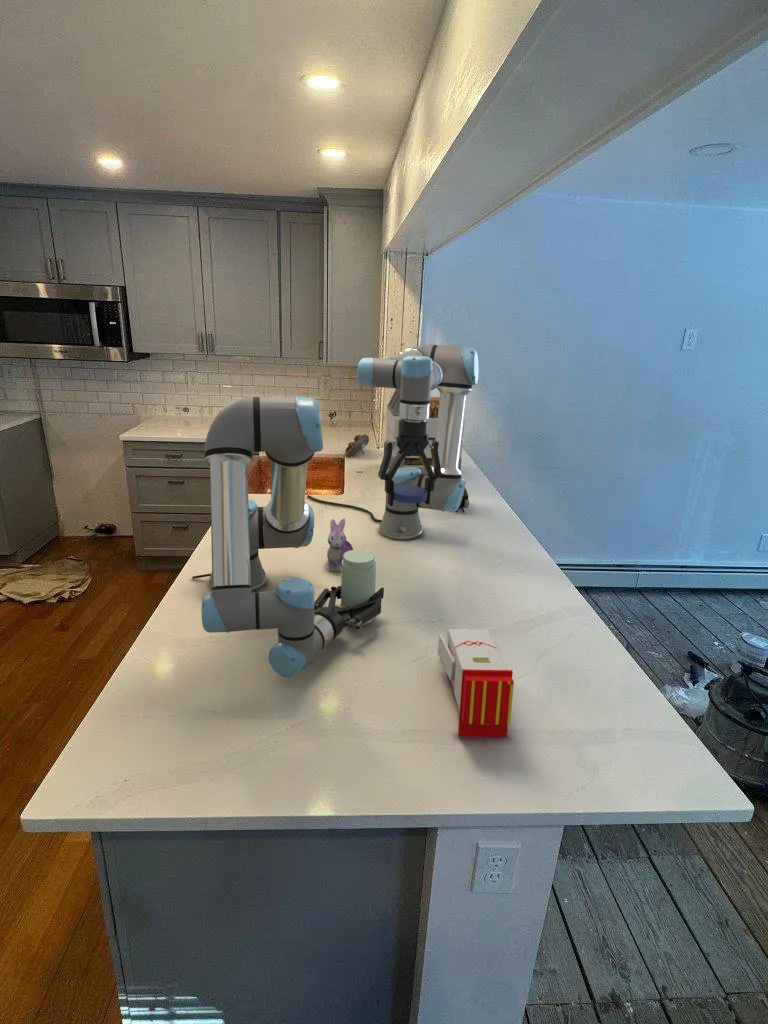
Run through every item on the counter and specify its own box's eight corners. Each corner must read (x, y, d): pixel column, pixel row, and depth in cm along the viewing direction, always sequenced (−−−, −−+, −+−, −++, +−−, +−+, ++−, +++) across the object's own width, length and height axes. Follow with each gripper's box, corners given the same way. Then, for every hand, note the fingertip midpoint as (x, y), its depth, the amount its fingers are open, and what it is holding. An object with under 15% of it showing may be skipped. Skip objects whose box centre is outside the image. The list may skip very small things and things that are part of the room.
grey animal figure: (345, 440, 315) (366, 425, 310) (356, 453, 318) (377, 439, 313) (338, 454, 296) (361, 438, 291) (350, 468, 298) (372, 452, 293)
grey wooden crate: (382, 463, 289) (386, 382, 275) (445, 464, 293) (451, 384, 279) (390, 482, 257) (394, 392, 243) (460, 483, 261) (468, 394, 247)
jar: (349, 629, 140) (351, 565, 134) (335, 613, 147) (335, 552, 141) (380, 621, 144) (382, 559, 138) (364, 606, 151) (366, 546, 145)
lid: (430, 494, 153) (430, 487, 152) (421, 505, 144) (422, 498, 144) (396, 490, 155) (397, 483, 155) (386, 500, 147) (387, 493, 146)
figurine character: (469, 517, 223) (463, 501, 236) (471, 500, 219) (465, 484, 233) (452, 516, 222) (447, 500, 236) (454, 499, 219) (449, 483, 232)
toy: (488, 613, 130) (523, 677, 101) (484, 667, 133) (517, 744, 104) (435, 612, 130) (455, 676, 101) (432, 666, 133) (451, 743, 103)
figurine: (332, 575, 167) (332, 527, 162) (319, 561, 175) (319, 516, 170) (361, 569, 171) (362, 523, 166) (347, 556, 179) (348, 512, 174)
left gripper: (281, 630, 133) (330, 591, 153) (362, 656, 125) (403, 611, 144) (280, 602, 131) (330, 566, 150) (363, 626, 122) (404, 584, 142)
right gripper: (374, 422, 137) (371, 510, 144) (460, 422, 142) (452, 506, 150) (367, 416, 144) (364, 500, 151) (449, 416, 149) (442, 497, 157)
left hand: (366, 588), depth 147 cm, fingers closed on jar, 9 cm apart
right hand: (408, 503), depth 151 cm, fingers closed on lid, 9 cm apart
